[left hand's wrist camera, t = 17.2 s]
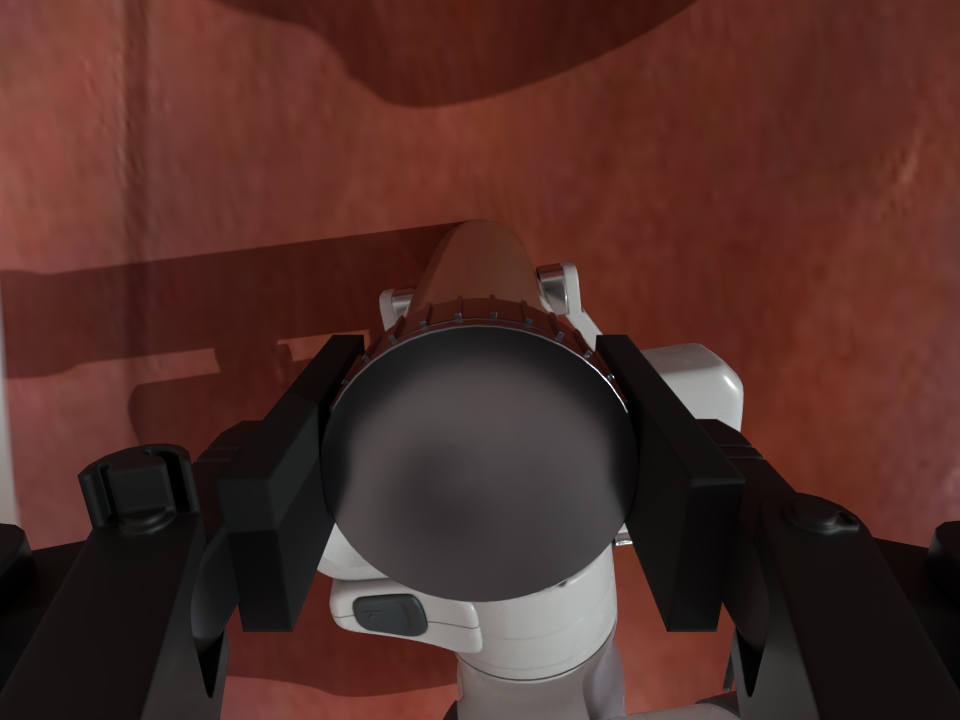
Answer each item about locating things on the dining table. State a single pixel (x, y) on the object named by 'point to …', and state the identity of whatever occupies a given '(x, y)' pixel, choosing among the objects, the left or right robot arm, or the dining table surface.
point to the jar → (479, 269)
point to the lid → (479, 452)
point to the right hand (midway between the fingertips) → (475, 278)
